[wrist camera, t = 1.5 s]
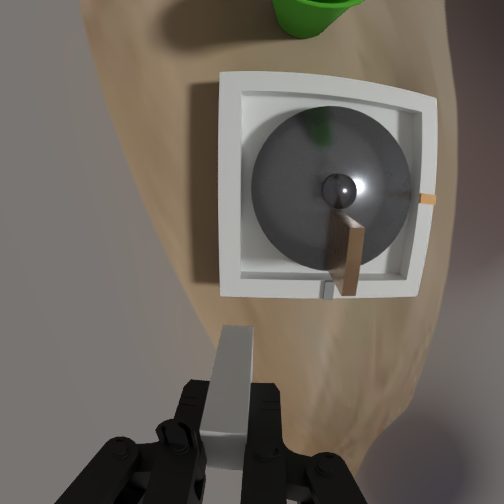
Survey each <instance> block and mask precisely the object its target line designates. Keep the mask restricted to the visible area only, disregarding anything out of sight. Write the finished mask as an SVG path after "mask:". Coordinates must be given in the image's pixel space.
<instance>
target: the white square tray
mask: <svg viewBox="0 0 504 504" xmlns="http://www.w3.org/2000/svg"><path fill="white" fill-rule="evenodd" d="M322 106H340V107H346V108H351V109H354V110H357V111H360V112H362V113H364V114H366V115H368V116H370V117H372V118H373V119H375V120H376V121H378V122H379V123H380V124H381V125H382V126H384V127H385V128H386V129H387V130H388V131H389V132H390V133H391V135H392V136H393V137H394V138H395V140H396V141H397V143H398V144H399V146H400V147H401V149H402V151H403V153H404V155H405V158H406V161H407V164H408V167H409V171H410V176H411V201H410V208H409V211H408V215H407V218H406V220H405V223H404V225H403V227H402V229H401V231H400V232H399V234H398V236H397V237H396V238H395V240H394V241H393V242H392V244H391V245H390V246H389V247H388V248H387V249H386V250H385V251H384V252H382V253H381V254H380V255H379V256H377V257H376V258H374V259H373V260H371V261H369V262H367V263H365V264H363V265H361V266H360V272H359V278H358V285H357V291H356V296H341V294H340V293H339V291H338V289H337V287H336V285H335V283H334V281H333V279H332V278H331V276H330V274H329V272H328V271H321V270H316V269H311V268H308V267H305V266H302V265H300V264H298V263H296V262H294V261H292V260H291V259H289V258H288V257H286V256H285V255H283V254H282V253H281V252H280V251H279V250H278V249H276V248H275V247H274V245H273V244H272V243H271V242H270V241H269V240H268V238H267V237H266V235H265V234H264V232H263V231H262V229H261V227H260V225H259V222H258V220H257V218H256V215H255V212H254V208H253V203H252V195H251V182H252V173H253V169H254V164H255V161H256V159H257V156H258V153H259V151H260V149H261V148H262V146H263V144H264V142H265V141H266V140H267V138H268V137H269V135H270V134H271V133H272V132H273V131H274V130H275V129H276V128H277V127H278V126H279V125H280V124H281V123H283V122H284V121H285V120H287V119H288V118H290V117H292V116H293V115H295V114H297V113H299V112H302V111H304V110H307V109H311V108H315V107H322ZM436 167H437V100H436V98H434V97H430V96H427V95H423V94H420V93H416V92H412V91H408V90H404V89H400V88H396V87H391V86H387V85H382V84H377V83H372V82H367V81H361V80H355V79H348V78H342V77H334V76H326V75H316V74H305V73H291V72H268V71H233V72H220V82H219V125H218V224H219V270H220V296H230V297H264V298H323V300H333V298H378V297H409V296H417V294H418V290H419V286H420V281H421V277H422V272H423V268H424V263H425V257H426V252H427V246H428V241H429V234H430V228H431V220H432V213H433V205H435V204H436V195H434V194H435V183H436Z"/></svg>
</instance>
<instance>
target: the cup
mask: <svg viewBox="0 0 504 504" xmlns="http://www.w3.org/2000/svg"><path fill="white" fill-rule="evenodd" d="M363 1H364V0H272V3H273V7H274V10H275V14H276V17H277V21H278V24H279V25H280V27H281V28H282V29H283V30H284V31H285V32H286V33H288V34H290V35H291V36H294V37H297V38H312V37H315V36H317V35H319V34H320V33H322V32H323V31H324V30H325V29H326V28H327V27H328V26H329V25H330V24H331V23H333V22H334V21H335V20H336V19H337V18H338V17H339V16H341V15H342V14H343V13H344V12H345V11H346V10H347V9H349V8H350V7H352V6H355V5H358V4H360V3H361V2H363Z"/></svg>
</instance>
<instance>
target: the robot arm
mask: <svg viewBox="0 0 504 504" xmlns="http://www.w3.org/2000/svg"><path fill="white" fill-rule="evenodd" d="M252 369H253V326H231V325H223V327H222V332H221V336H220V340H219V345H218V349H217V353H216V358H215V362H214V367H213V371H212V376H211V380H210V381H202V380H192V379H191V380H190V381H189V382H188V383H187V384H186V385H185V386H184V388H183V391H182V394H181V398H180V400H179V405H178V407H177V410H176V413H175V416H174V419H169V420H166V421H164V422H162V423H161V424H159V425H158V427H157V428H156V430H155V431H156V433H157V436H158V438H159V441H158V442H155V443H146V444H136V443H135V442H134V441H133V440H131V439H130V438H126V437H115V438H112V439H110V440H109V441H107V442H106V443H105V445H104V446H103V447H102V448H101V449H100V451H99V452H98V453H97V454H96V455H95V456H94V458H93V459H92V460H91V461H90V462H89V463H88V465H87V466H86V467H85V468H84V469H83V471H82V472H81V473H80V474H79V476H77V478H76V479H75V480H74V481H73V482H72V483H71V485H70V486H69V487H68V488H67V489H66V491H65V492H64V493H63V494H62V495H61V496H60V498H59V499H58V500H57V501H56V502H55V503H54V504H202V501H203V494H204V488H205V483H206V475H205V469H206V463H207V467H208V468H217V469H230V470H243V477H242V490H241V503H240V504H287V501H286V499H289V500H293V501H297V503H298V504H367V502H366V500H365V498H364V496H363V494H362V493H361V491H360V489H359V487H358V485H357V484H356V482H355V480H354V478H353V476H352V474H351V472H350V471H349V469H348V467H347V465H346V463H345V461H344V460H343V459H342V458H341V457H340V456H338V455H336V454H335V453H330V452H323V453H318V454H316V455H314V456H312V457H310V456H305V455H300V454H297V453H294V452H292V451H291V450H289V449H288V448H287V447H286V446H285V444H284V443H283V439H282V424H281V405H280V391H279V390H278V388H277V387H276V385H275V384H274V383H252Z"/></svg>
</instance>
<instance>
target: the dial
mask: <svg viewBox="0 0 504 504" xmlns="http://www.w3.org/2000/svg"><path fill="white" fill-rule="evenodd" d="M251 195H252V203H253V208H254V212H255V215H256V218H257V220H258V222H259V225H260V227H261V229H262V231H263V232H264V234H265V235H266V237H267V238H268V240H269V241H270V242H271V243H272V244H273V245H274V247H275V248H276V249H278V250H279V251H280V252H281V253H282V254H283V255H285V256H286V257H288V258H289V259H291V260H292V261H294V262H296V263H298V264H300V265H302V266H305V267H308V268H311V269H316V270H321V271H328V272H329V274H330V276H331V278H332V279H333V281H334V283H335V285H336V287H337V289H338V291H339V293H340V294H341V296H356V291H357V285H358V278H359V272H360V266H361V265H363V264H365V263H367V262H369V261H371V260H373V259H374V258H376V257H377V256H379V255H380V254H381V253H382V252H384V251H385V250H386V249H387V248H388V247H389V246H390V245H391V244H392V242H393V241H394V240H395V238H396V237H397V236H398V234H399V232H400V231H401V229H402V227H403V225H404V223H405V220H406V218H407V215H408V211H409V208H410V201H411V176H410V171H409V167H408V164H407V161H406V158H405V155H404V153H403V151H402V149H401V147H400V146H399V144H398V143H397V141H396V140H395V138H394V137H393V136H392V135H391V133H390V132H389V131H388V130H387V129H386V128H385V127H384V126H382V125H381V124H380V123H379V122H378V121H376V120H375V119H373V118H372V117H370V116H368V115H366V114H364V113H362V112H360V111H357V110H354V109H351V108H346V107H340V106H322V107H315V108H311V109H307V110H304V111H302V112H299V113H297V114H295V115H293V116H292V117H290V118H288V119H287V120H285V121H284V122H283V123H281V124H280V125H279V126H278V127H277V128H276V129H275V130H274V131H273V132H272V133H271V134H270V135H269V137H268V138H267V140H266V141H265V142H264V144H263V146H262V148H261V149H260V151H259V153H258V156H257V159H256V161H255V164H254V169H253V173H252V182H251Z"/></svg>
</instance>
